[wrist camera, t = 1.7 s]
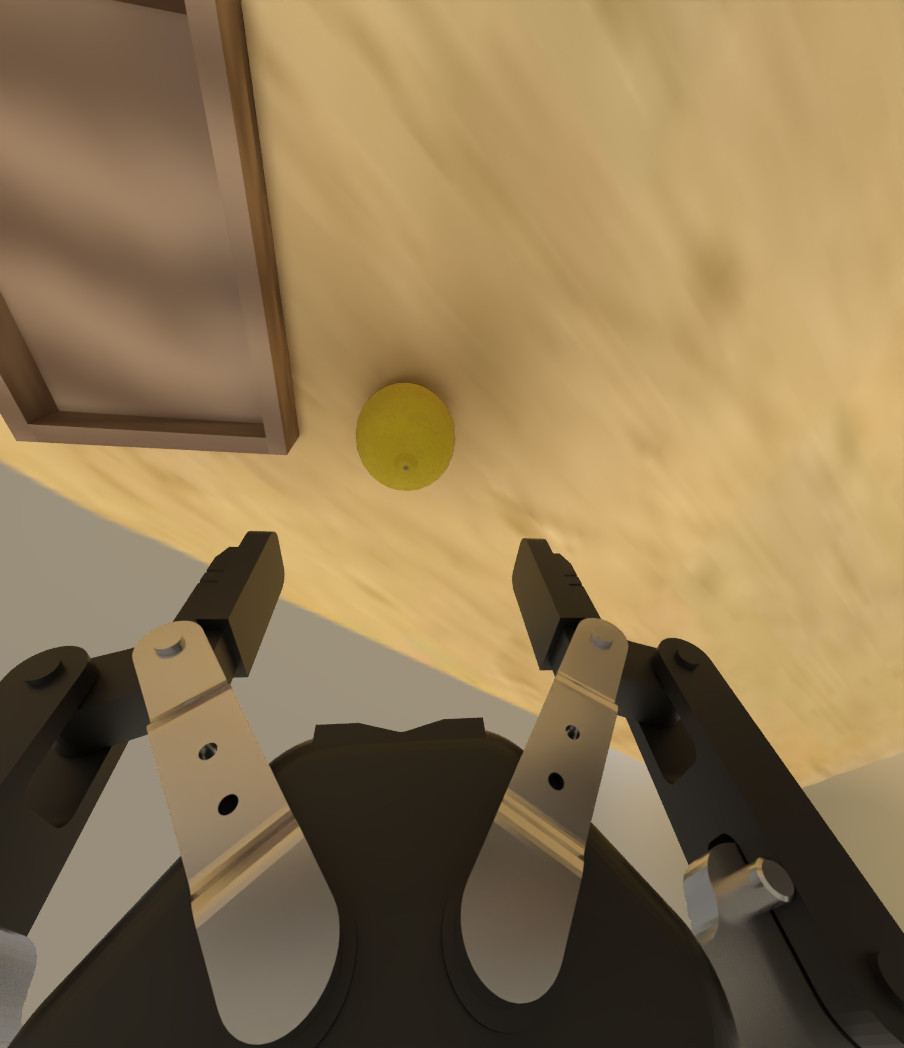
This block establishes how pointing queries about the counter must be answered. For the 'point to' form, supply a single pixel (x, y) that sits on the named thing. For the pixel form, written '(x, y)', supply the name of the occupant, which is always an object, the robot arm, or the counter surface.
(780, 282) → the counter surface
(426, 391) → the lemon
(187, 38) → the tray
